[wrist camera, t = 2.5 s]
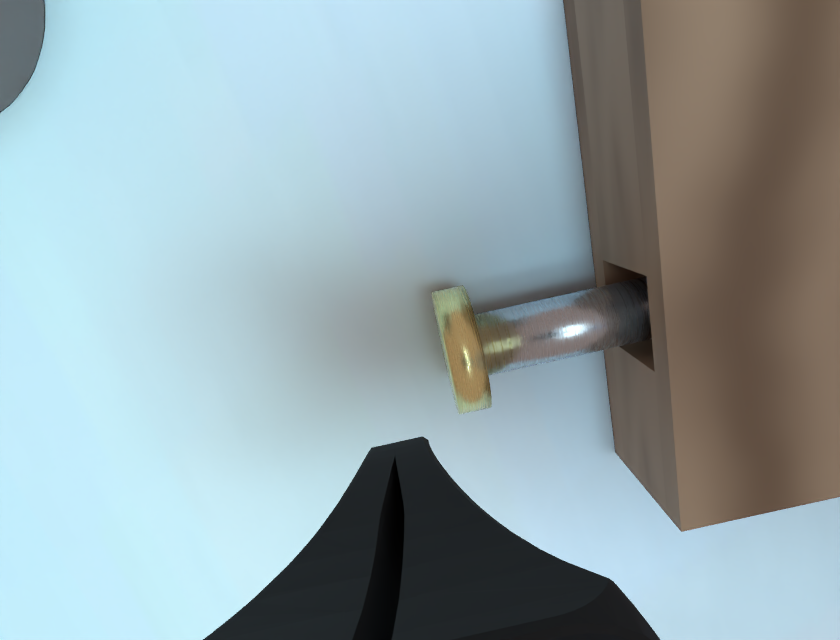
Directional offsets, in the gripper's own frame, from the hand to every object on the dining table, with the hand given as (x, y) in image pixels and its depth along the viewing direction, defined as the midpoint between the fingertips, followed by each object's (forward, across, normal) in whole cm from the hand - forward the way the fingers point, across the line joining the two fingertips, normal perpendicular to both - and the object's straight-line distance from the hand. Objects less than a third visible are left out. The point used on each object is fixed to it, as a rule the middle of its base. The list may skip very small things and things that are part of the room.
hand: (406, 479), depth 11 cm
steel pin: (+10, -6, 0) cm, 12 cm away
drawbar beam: (+10, -12, -2) cm, 16 cm away
